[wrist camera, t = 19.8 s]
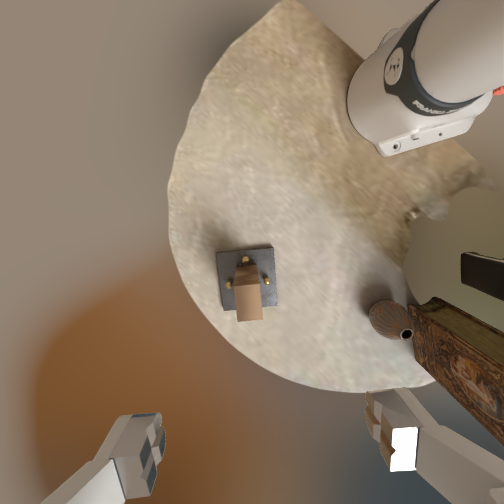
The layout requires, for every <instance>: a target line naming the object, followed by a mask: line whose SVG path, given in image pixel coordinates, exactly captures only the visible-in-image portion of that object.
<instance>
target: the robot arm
mask: <svg viewBox="0 0 504 504" xmlns="http://www.w3.org/2000/svg"><path fill="white" fill-rule="evenodd" d="M500 94H504V0H435V1H433V2H432V3H431V4H430V5H429V6H427V7H426V8H425V9H423V10H421V11H419V12H418V13H417V14H416V15H415V16H413V17H412V18H411V19H410V20H409V21H408V22H407V23H405V24H404V25H403V26H402V27H401V28H400V29H392V30H390V31H389V32H388V33H387V34H386V35H385V37H384V38H383V39H382V41H381V43H380V44H379V46H378V48H377V50H376V51H375V52H374V53H373V54H372V55H371V56H369V57H368V58H367V59H366V60H365V61H364V62H363V63H362V64H361V65H360V66H359V68H358V69H357V71H356V72H355V74H354V76H353V78H352V80H351V83H350V86H349V90H348V98H347V105H348V112H349V116H350V119H351V122H352V124H353V125H354V127H355V129H356V130H357V131H358V132H359V133H360V134H361V135H362V136H363V137H364V138H366V139H367V140H369V141H371V142H372V143H373V144H374V145H375V147H376V148H377V150H378V152H379V153H380V154H381V155H382V156H384V157H389V156H392V155H395V154H398V153H402V152H405V151H408V150H412V149H415V148H418V147H422V146H425V145H428V144H431V143H435V142H438V141H441V140H445V139H448V138H451V137H454V136H458V135H460V134H463V133H465V132H467V131H468V129H469V128H470V126H471V125H472V123H473V121H474V119H475V117H476V115H478V114H481V113H482V112H483V111H484V110H485V109H486V107H487V106H488V104H489V103H490V100H491V98H492V96H493V95H500ZM394 145H395V149H393V146H394ZM365 400H366V402H367V403H368V406H367V407H366V408H365V418H366V422H367V426H368V428H369V431H370V433H371V435H372V437H373V438H374V439H375V440H376V441H378V442H379V443H380V452H381V454H382V456H383V457H384V459H385V461H386V463H387V465H388V467H389V469H390V471H401V470H415V469H416V471H417V473H418V474H420V475H421V476H422V477H423V478H424V479H425V480H426V481H427V482H428V483H430V484H431V485H432V486H433V487H434V488H435V489H436V490H438V491H439V492H440V493H441V494H442V495H443V496H444V497H445V498H446V499H447V500H449V501H450V502H451V503H452V504H504V461H503V460H501V459H500V458H498V457H497V456H495V455H493V454H491V453H490V452H488V451H486V450H485V449H483V448H481V447H479V446H478V445H476V444H474V443H473V442H471V441H469V440H468V439H466V438H464V437H462V436H461V435H459V434H457V433H456V432H454V431H452V430H450V429H449V428H447V427H445V426H443V425H442V426H439V425H438V424H437V422H436V421H435V420H434V419H433V418H432V417H431V415H430V414H429V413H428V412H427V411H426V410H425V409H424V407H423V406H422V405H421V404H420V403H419V401H418V400H417V399H416V398H415V397H414V395H413V394H412V393H411V392H410V391H409V390H408V389H407V388H405V387H403V388H394V389H384V390H375V391H367V392H366V394H365ZM161 422H162V417H161V414H160V413H147V414H134V415H123V416H120V417H119V418H118V419H117V420H116V422H115V423H114V425H113V427H112V428H111V430H110V432H109V434H108V435H107V437H106V439H105V441H104V442H103V444H102V446H101V447H100V449H99V451H98V453H97V454H96V456H95V458H94V460H93V461H88V462H87V463H86V464H85V465H84V466H83V467H82V468H80V469H79V470H78V471H77V472H76V473H75V474H74V475H72V476H71V477H70V478H69V479H68V480H67V481H65V482H64V483H63V484H62V485H61V486H60V487H59V488H58V489H56V490H55V491H54V492H53V493H52V494H51V495H50V496H48V497H47V498H46V499H45V500H44V501H43V502H41V503H40V504H123V503H124V502H125V499H130V498H138V497H145V496H150V495H151V492H152V489H153V485H154V482H155V479H156V476H157V470H156V465H157V464H158V463H159V462H160V461H161V460H162V457H163V454H164V450H165V442H166V437H165V436H166V435H165V430H164V428H162V427H161V426H160V425H161Z"/></svg>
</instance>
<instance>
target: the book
mask: <svg viewBox="0 0 504 504" xmlns="http://www.w3.org/2000/svg"><path fill="white" fill-rule="evenodd" d="M408 312H409V314H410V316H411V318H412V322H413V332H414V335H413V337H412V338H413V344H414V351H415V357H416V361H417V362H418V363H419V364H420V365H421V366H422V367H423V368H424V369H425V370H426V371H427V372H428V373H429V374H430V375H431V376H432V377H433V378H434V379H435V380H436V381H438V382H439V383H440V384H441V385H442V386H443V387H444V388H445V389H446V390H447V391H448V392H449V393H450V394H451V395H452V396H453V397H454V398H455V399H456V400H457V401H458V402H459V403H460V404H461V405H462V406H463V407H464V408H465V409H466V410H467V411H468V412H469V413H470V414H471V415H472V416H473V417H475V419H476V420H478V421H479V422H480V423H481V424H482V425H483V426H484V427H485V428H486V429H487V430H488V431H489V432H490V433H491V434H492V435H493V436H494V437H495V438H496V439H497V440H498V441H499V442H500V443H501V444H502V445H503V446H504V333H503V332H501V331H500V330H498V329H496V328H494V327H492V326H490V325H488V324H487V323H485V322H483V321H481V320H479V319H477V318H475V317H474V316H472V315H470V314H468V313H466V312H464V311H463V310H461V309H459V308H457V307H455V306H453V305H451V304H449V303H448V302H446V301H444V300H442V299H440V298H438V297H432V299H431V300H430V301H429V302H427V303H426V304H423V305H418V306H415V305H413V304H408Z"/></svg>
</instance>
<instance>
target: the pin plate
mask: <svg viewBox="0 0 504 504" xmlns="http://www.w3.org/2000/svg"><path fill="white" fill-rule="evenodd" d="M216 257H217V264H218V272H219V279H220V287H221V294H222V302H223V309H224V311H228V310H236V302H235V294H234V280H235V272H236V267H239V266H250V265H257V270H258V276H259V282H260V292H261V303H262V307H269V306H278V301H277V288H276V274H275V260H274V248H273V247H268V248H258V249H248V250H237V251H227V252H217V253H216Z"/></svg>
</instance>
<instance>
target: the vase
mask: <svg viewBox="0 0 504 504" xmlns="http://www.w3.org/2000/svg"><path fill="white" fill-rule="evenodd" d="M369 320H370V323H371V325H372V327H373V328H374V329H375V330H376V331H377V332H378V333H379V334H380V335H382V336H384V337H386V338H389V339H393V340H400V339H402V340H409V339H411V338H412V337H413V335H414V332H413V322H412V318H411V316H410V314H409V313H408V312H407V310H406V309H405V308H404V307H402V306H401V305H399V304H398V303H396V302H393V301H388V300H382V301H379V302H376V303H375V304H374V305H372V307H371V308H370V311H369Z"/></svg>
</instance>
